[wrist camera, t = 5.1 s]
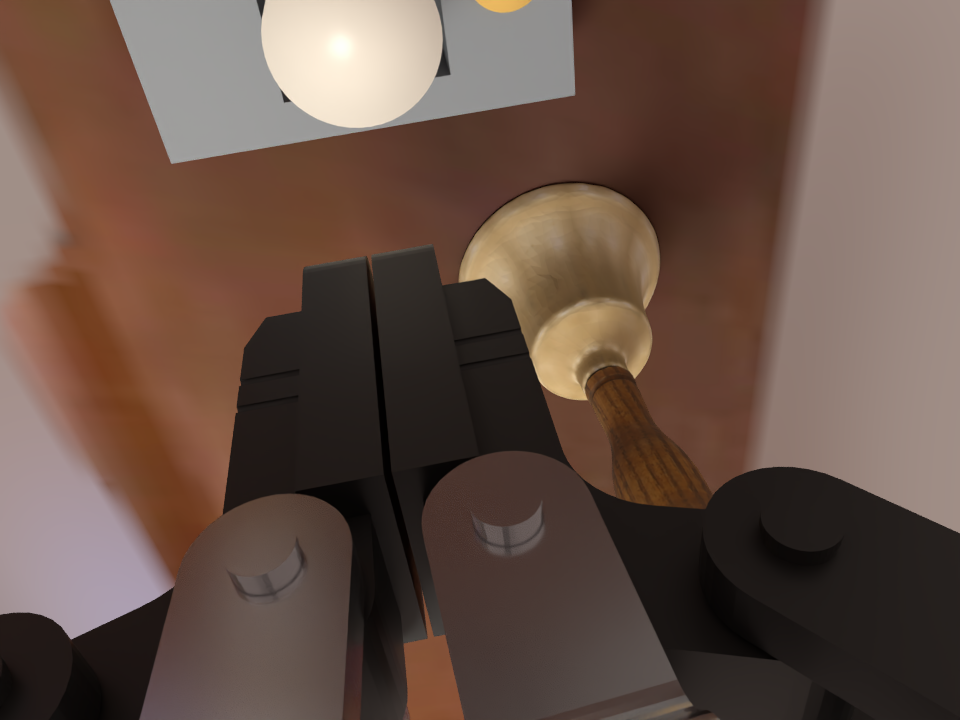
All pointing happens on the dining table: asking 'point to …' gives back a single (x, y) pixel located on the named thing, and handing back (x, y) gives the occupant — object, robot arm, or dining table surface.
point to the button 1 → (352, 56)
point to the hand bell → (589, 320)
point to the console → (277, 120)
